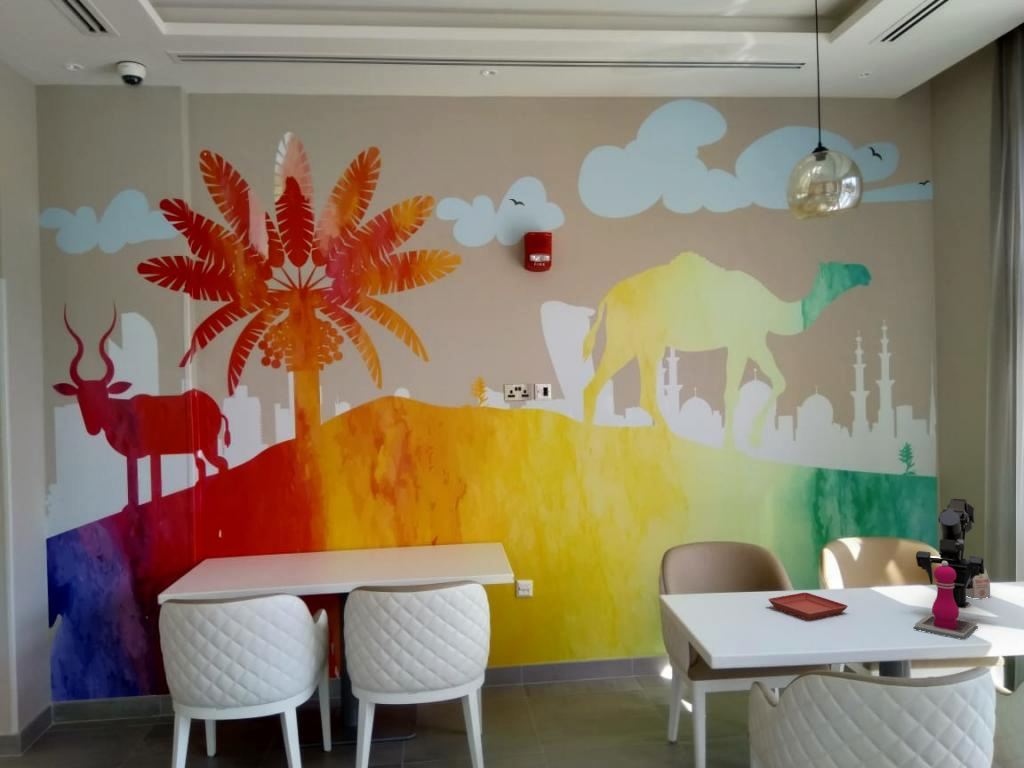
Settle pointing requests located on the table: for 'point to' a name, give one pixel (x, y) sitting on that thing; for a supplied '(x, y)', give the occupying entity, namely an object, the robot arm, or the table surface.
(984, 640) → the table surface
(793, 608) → the plant saucer
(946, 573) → the pepper mill
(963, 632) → the silver dock
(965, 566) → the robot arm
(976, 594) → the tea bag
